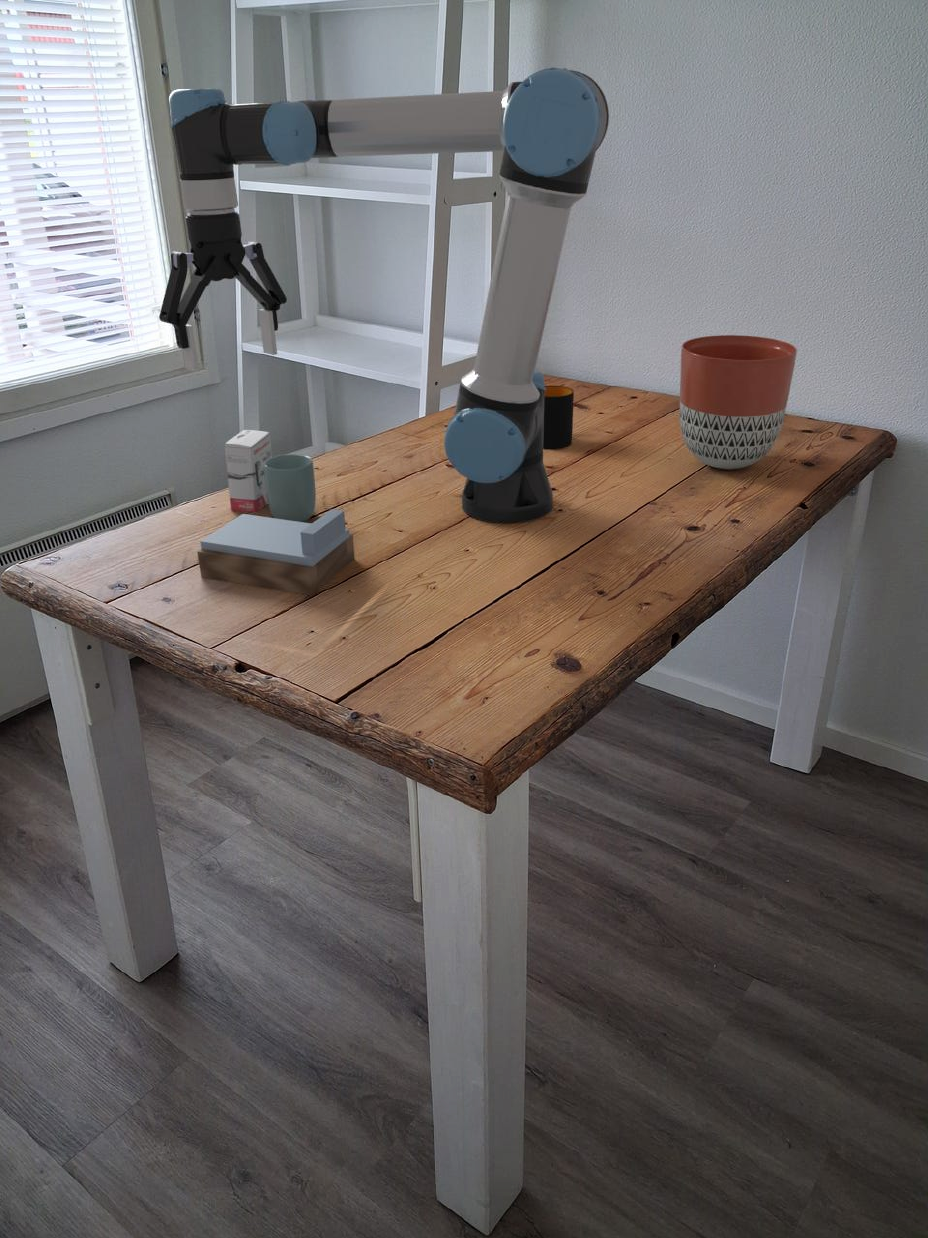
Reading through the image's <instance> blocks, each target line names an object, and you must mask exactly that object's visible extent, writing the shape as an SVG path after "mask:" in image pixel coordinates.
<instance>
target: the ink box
mask: <svg viewBox="0 0 928 1238" xmlns="http://www.w3.org/2000/svg"><path fill="white" fill-rule="evenodd" d="M224 452H225V462H226V471H227V482H228V483H227V485H228V492H229V502H230V503H229V504H230V510H231V511H235V512H236V511H237V512H252V513H253V512H255V513H256V512H258V511H260V510H261V509H263V508H264V507H266V506H267V505H268V500H267V495H266V488H265V480H264V470H263V465H264V462H265V461H266V460H268V459H269V458H272V457H273V454H272V443H271V432H270V431H266V430H265V431H264V430H257V429H243V430H241V431H240V432H239V433H237V434H236V435H234V436H233V437H232V438H229V440H227V441H226V442H225V445H224Z"/></svg>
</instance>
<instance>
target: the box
mask: <svg viewBox="0 0 928 1238" xmlns="http://www.w3.org/2000/svg"><path fill="white" fill-rule="evenodd" d="M349 536H350V537H348V538H347V539H346V540H345V541H344V542H342V543H341V544H340V545H339V546H337V547H336V548H335V549H334V550H332V551H331V552H330V553H329V554H327V555H326V556H325V557H324V558H322V559H321V560H320V561H319V562H317V563H316V564H315V565H314V566H313V567H312V566H306V565H300V564H294V563H287V562H281V561H275V560H268V559H262V558H256V557H249V556H243V555H237V554H231V553H224V552H218V551H212V550H205V549H201V548H200V549H199V550H197V556H198V557H197V559H198V565H199V571H200V577H201V578H203V579H209V580H214V581H220V582H225V583H226V582H227V583H231V584H239V585H244V586H250V587H256V588H261V589H268V590H273V591H279V592H285V593H290V594H296V595H297V594H298V595H303V596H309V597H313V595H314V594H316V593H317V592H318V591H320V589H321V588H323V587H324V586H325V585H326V584H328V583H329V582H330V581H331V580H332V579H333V578H335V577H336V576H337V575H338V574H339V573H341V571H343V570H344V569H345V568H346V567H347V566H349V565H350V564H351V563H352V562H353V561H354V560H355V549H354V548H355V547H354V545H355V544H354V534H353V533H349Z"/></svg>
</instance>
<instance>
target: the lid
mask: <svg viewBox="0 0 928 1238" xmlns="http://www.w3.org/2000/svg"><path fill="white" fill-rule="evenodd" d="M345 518H346V516H345V510H340V509H334V508H331V509H329V510H328V511H327V512H326V513H325V514H323V515H322V516H320V517H319V518H317V519H316V520H315V521H314V522H312V523H310V522H309V523H308V522H297V521H290V520H283V519H276V518H274V517H269V516H259V515H254V514H253V515H252V514H247V513H246V514H245V513H242V514H240V515H239V516H237V517H236V518H234V519H232V520H230V521H229V522H228V523H226V524H225V525H223V526H221V527H220V528H219V529H216V530H215V531H213V532H212V533H210V534H209V535H207V536H206V537H205V538H203V539H201V540H200V550H201V549H205V550H212V551H218V552H224V553H231V554H237V555H243V556H249V557H256V558H262V559H268V560H275V561H281V562H287V563H294V564H300V565H306V566H312V567H313V566H314V565H315V564H316V563H317V562H319V561H320V560H321V559H322V558H324V557H325V556H326V555H327V554H329V553H330V552H331V551H332V550H334V549H335V548H336V547H337V546H339V545H340V544H341V543H342V542H344V541H345V540H346V539H347V538H348V537H350V536H349V534H350V529H349V528H346V519H345Z"/></svg>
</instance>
